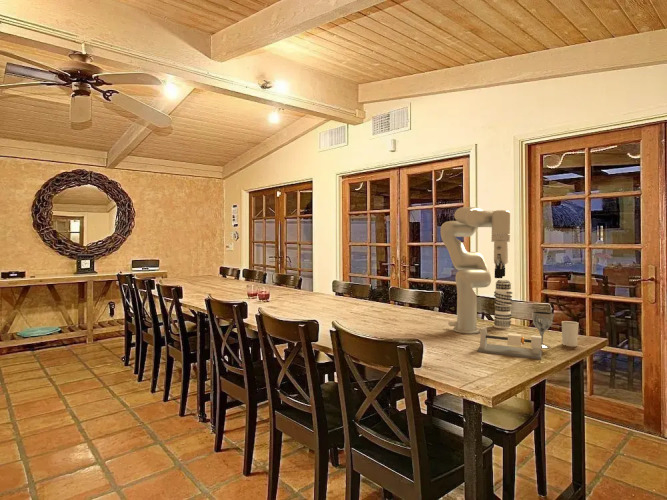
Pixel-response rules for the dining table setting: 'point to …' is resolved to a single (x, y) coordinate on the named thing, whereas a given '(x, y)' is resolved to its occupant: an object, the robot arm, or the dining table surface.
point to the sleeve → (514, 339)
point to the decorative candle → (502, 304)
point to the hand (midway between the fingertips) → (499, 277)
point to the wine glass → (542, 323)
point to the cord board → (509, 350)
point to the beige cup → (569, 333)
